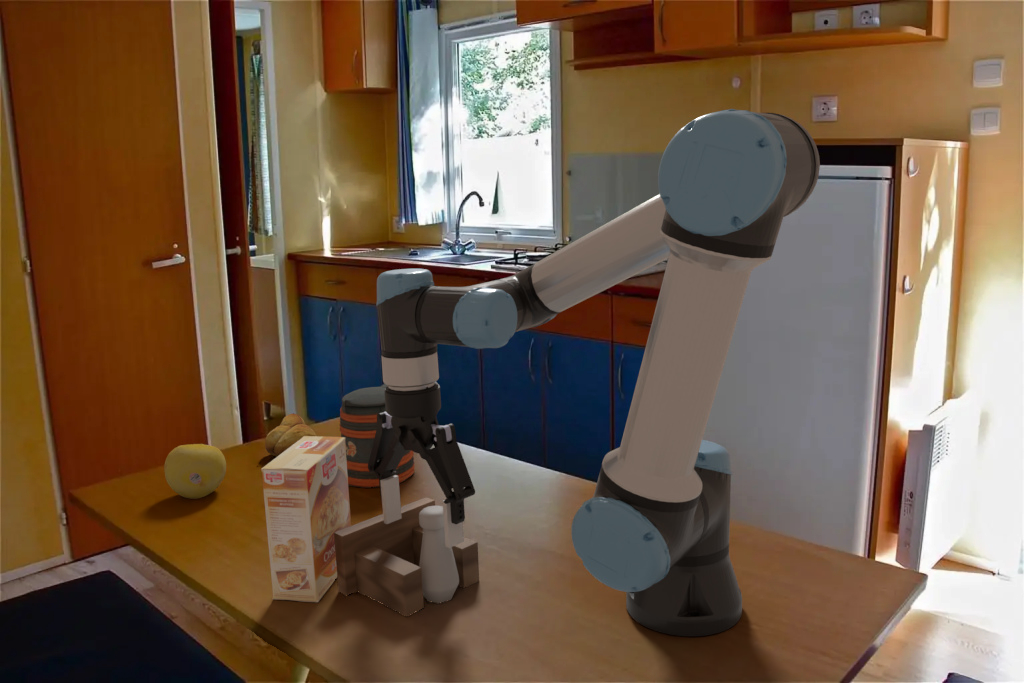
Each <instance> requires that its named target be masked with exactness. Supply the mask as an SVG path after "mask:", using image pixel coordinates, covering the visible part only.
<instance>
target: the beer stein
mask: <svg viewBox="0 0 1024 683" xmlns="http://www.w3.org/2000/svg"><path fill="white" fill-rule="evenodd" d="M386 387H387V385H386V384H385V383H383V384H381V385H380V386H371V387H363V388H358V389H355V390H353V391H351V392H348V393H347V394H345V395H344V396H342V398H341V402H342V403H341V407H340V409H339V412H340V413H339V415H340V416H339V432H340V437H345V445H346V460H347V474H348V486H351V487H356V488H366V489H367V488H371V487H373V488H371V489H374V487H375V488H380V486H379V478H377V476H376V473H375V472H374V471H373V472H370V471H369V470H368V463H369V459H370V455H371V450H372V446H373V442H374V438H375V434H376V430H377V414H379V413H382V412H386V406H385V393H384V390H385V388H386ZM414 453H415V452H413V451H412V450H406V452H405V454H404V456H403V457H402V459H401V461H400V463H399V465H398V466H397V468H396V470H397V471H398V472H397V471H395V472H397V473H394V474H392V476H394V475H397V476H398V478H399V484H401V483H403V481H404V482H405V481H406V480H407V479H409V478H410V477H411V476H412V475H414V473H415V470H416V469H415V461H414V460H415V459H414V455H415V454H414ZM378 461H379V459H378Z"/></svg>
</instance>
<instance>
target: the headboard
mask: <svg viewBox="0 0 1024 683" xmlns="http://www.w3.org/2000/svg"><path fill="white" fill-rule="evenodd" d="M428 506H436V499H432V498H430V497H428V496H427V497H422V498H421V499H418V500H415V501H413V502H410V503H407V504H405V505H402V506H401V516H402V519H399V520H396V521H394V522H391V523H389V524H385V523H384V519H383V513H382V514H379V515H377V516H374V517H371V518H368V519H366V520H363V521H360V522H358V523H355V524H353V525H352V524H351V526H350V527H347V528H345V529H342V530H339V531H337V532H334V540H335V553H336V565H337V578H336V579H337V588H338V589H337V590H338V592H339V593H340V592H341V593H340V594H342V593H343V594H342V595H344V594H345V595H344V596H346V595H349V594H351V593H353V592H355V593H357V592H356V591H359V592H360V593H359V592H358V593H359V594H361V593H362V594H361V595H363V594H365V595H367V596H369V597H371V598H372V599H375V600H376V601H379V602H381V603H383V604H384V605H386V606H388V607H390V608H392V609H394V610H396V611H398V612H400V613H401V614H403V615H405V616H408V617H410V616H411V615H410V614H412V613H414V612H415V611H418V610H420V609H422V608H424V595H423V588H422V571H421V567H419V564H420V555H421V547H422V538H423V528H422V527H420V523H419V513H420V512H421V511H422V510H423V509H424V508H426V507H428ZM478 545H479V544H478V541H476V540H474V539H471V538H469V537H466V536H464V542H462V543H460V544H457V545H455V546H453V547H452V551H453V555H454V559H455V563H456V567H457V571H458V575H459V584H458V586H457V587H460V586H461V587H460V588H462V587H463V588H462V589H466V588H468V587H470V586H472V585H474V584H476V583H478V582H480V567H479V565H480V563H479V549H478V548H479V546H478ZM465 587H466V588H465ZM353 594H354V593H353ZM351 595H352V594H351ZM365 595H364V596H365ZM349 596H350V595H349ZM372 599H371V600H372ZM376 601H375V602H376ZM384 605H383V606H384ZM386 606H385V607H386ZM388 607H387V608H388ZM390 608H389V609H390ZM392 609H391V610H392ZM394 610H393V611H394ZM422 610H423V609H422ZM396 611H395V612H396ZM420 611H421V610H420ZM398 612H397V613H398ZM418 612H419V611H418ZM400 613H399V614H400ZM401 614H400V615H401ZM414 614H415V613H414ZM403 615H402V616H403ZM409 615H410V616H409ZM412 615H413V614H412ZM405 616H404V617H405Z"/></svg>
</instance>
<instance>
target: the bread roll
mask: <svg viewBox="0 0 1024 683" xmlns="http://www.w3.org/2000/svg"><path fill="white" fill-rule="evenodd" d="M303 436H317V434H316V432H315V431H314V430H313V429H312V428H311V426H309V425H307V424H306V422H305V421H304V419H303V418H302V417H301V416H300V415H299V414H297V413H289V414H288V415H286V416H284V417H283V418H282V420H281V422H280V424H279V425H278V426H276V427H275V428H273V429H272V430H270V431H269V432H268V434H266V438H265V442H264V443H265V445H264V447H265V450H266V452H267V453H268V454H269V455H271V456H273V457H274V456H275V457H277V456H279V455H280V454H281V453H283V452H284V451H285V450H287V449H288V448H289V447H291V446H292V445H293V444H295V443H296V442H297V441H299V440H300V439H301V438H302V437H303Z"/></svg>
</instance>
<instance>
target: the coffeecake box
mask: <svg viewBox="0 0 1024 683" xmlns="http://www.w3.org/2000/svg"><path fill="white" fill-rule="evenodd" d="M260 470H261V476H262V487H263V499H264V508H265V509H264V510H265V511H264V512H265V522H266V532H267V543H268V554H269V566H270V576H271V578H270V579H271V588H272V600H281V601H296V602H304V603H305V602H307V603H319V602H320V600H321V599H322V598H323V596H324V595H325V594H326V592H327V591H328V590H329V589H330V587H331V586H332V585H333V583H334V582H335V581H336V580H335V579H338V578H337V565H336V553H335V540H334V532H337V531H339V530H342V529H345V528H347V527H350V526H352V523H351V522H352V520H351V508H350V507H351V506H350V492H349V491H350V490H349V485H348V474H347V460H346V445H345V437H341V436H319V435H318V436H317V435H316V436H303V437H302V438H301V439H300V440H299V441H297V442H296V443H295V444H293V445H292V446H291V447H289V448H288V449H287V450H285V451H284V452H283V453H281V454H280V455H279V456H275V458H273V459H271V461H269V462H268V463H267V464H265V465H264V466H263V467H261V469H260Z"/></svg>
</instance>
